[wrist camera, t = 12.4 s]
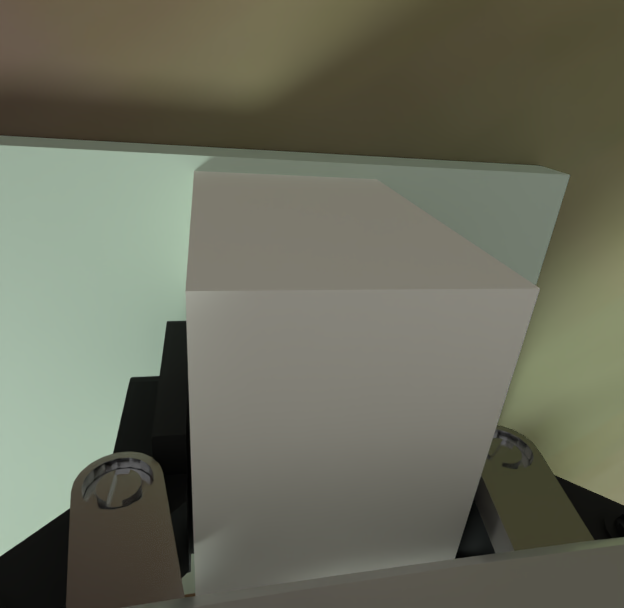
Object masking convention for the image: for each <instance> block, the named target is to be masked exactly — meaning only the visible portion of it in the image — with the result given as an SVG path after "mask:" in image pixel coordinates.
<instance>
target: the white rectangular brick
mask: <svg viewBox="0 0 624 608" xmlns="http://www.w3.org/2000/svg"><path fill="white" fill-rule="evenodd" d="M539 290H540V288H539V287H537V286H536V285H534V284H533V283H531V282H530V281H528V280H527V279H525V278H524V277H522V276H521V275H519V274H518V273H516V272H515V271H513V270H512V269H510V268H509V267H507V266H506V265H504V264H503V263H501V262H500V261H498V260H497V259H495V258H494V257H492V256H491V255H489V254H488V253H486V252H485V251H483V250H482V249H480V248H479V247H477V246H476V245H474V244H473V243H471V242H470V241H468V240H467V239H465V238H464V237H462V236H461V235H459V234H458V233H456V232H455V231H453V230H452V229H450V228H449V227H447V226H446V225H444V224H443V223H441V222H440V221H438V220H437V219H435V218H434V217H432V216H431V215H429V214H428V213H426V212H425V211H423V210H422V209H420V208H419V207H417V206H416V205H414V204H413V203H412V202H410V201H409V200H407V199H406V198H404V197H403V196H401V195H400V194H398V193H397V192H395V191H394V190H392V189H391V188H389V187H388V186H386V185H385V184H383V183H382V182H380V181H379V180H377V179H363V178H341V177H319V176H297V175H275V174H253V173H230V172H208V171H194V178H193V192H192V206H191V220H190V234H189V248H188V262H187V276H186V290H185V294H186V324H187V355H188V385H189V415H190V445H191V475H192V506H193V536H194V566H195V596H200V595H207V594H213V593H220V592H227V591H234V590H241V589H248V588H254V587H261V586H268V585H275V584H282V583H289V582H295V581H302V580H309V579H316V578H323V577H330V576H337V575H344V574H351V573H358V572H365V571H372V570H379V569H386V568H393V567H401V566H408V565H415V564H422V563H429V562H436V561H444V560H451V559H455V557H456V553H457V550H458V547H459V544H460V541H461V538H462V534H463V531H464V528H465V525H466V522H467V519H468V515H469V512H470V509H471V506H472V503H473V500H474V496H475V493H476V490H477V487H478V484H479V480H480V477H481V474H482V471H483V468H484V465H485V461H486V458H487V455H488V452H489V449H490V446H491V442H492V439H493V436H494V433H495V430H496V427H497V423H498V420H499V417H500V414H501V411H502V408H503V404H504V401H505V398H506V395H507V392H508V389H509V385H510V382H511V379H512V376H513V373H514V370H515V366H516V363H517V360H518V357H519V354H520V351H521V347H522V344H523V341H524V338H525V335H526V332H527V328H528V325H529V322H530V319H531V316H532V313H533V309H534V306H535V303H536V300H537V297H538V294H539Z"/></svg>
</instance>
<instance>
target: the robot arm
mask: <svg viewBox="0 0 624 608" xmlns="http://www.w3.org/2000/svg"><path fill="white" fill-rule="evenodd" d="M191 554H194V536H193V506H192V475H191V445H190V415H189V385H188V355H187V324H186V321H167V323H166V331H165V338H164V346H163V353H162V361H161V368H160V375H159V376H145V377H131V378H130V381H129V385H128V389H127V394H126V398H125V403H124V407H123V411H122V416H121V420H120V425H119V429H118V433H117V438H116V442H115V447H114V451H113V454H110V455H107V456H104V457H102V458H100V459H98V460H96V461H94V462H92V463H90V464H89V465H88V466H87V467H86V468H84V469H83V470H82V471H81V472H80V473H79V475H78V476H77V478H76V479H75V480H74V482H73V486H72V490H71V499H70V508H69V509H68V510H66V511H65V512H64V513H62V514H61V515H59V516H58V517H56V518H55V519H53V520H52V521H51V522H49V523H48V524H46V525H45V526H43V527H42V528H40V529H39V530H38V531H36V532H35V533H33V534H32V535H30V536H29V537H27V538H26V539H25V540H23V541H22V542H20V543H19V544H17V545H16V546H14V547H13V548H12V549H10V550H9V551H7V552H6V553H4V554H3V555H1V556H0V608H624V505H621V504H619V503H617V502H614V501H612V500H610V499H608V498H605V497H603V496H601V495H599V494H596V493H594V492H592V491H589V490H587V489H585V488H583V487H580V486H578V485H576V484H573V483H571V482H569V481H567V480H564V479H562V478H560V477H557V476H555V475H554V474H553V472H552V471H551V469H550V467H549V466H548V464H547V463H546V461H545V459H544V458H543V456H542V455H541V453H540V451H539V450H538V449H537V447H536V446H535V445H534V444H533V443H532V442H531V441H530V440H529V439H527V438H526V437H525V436H524V435H522V434H520V433H518V432H516V431H514V430H512V429H509V428H506V427H503V426H498V425H497V427H496V430H495V433H494V436H493V439H492V442H491V446H490V449H489V452H488V455H487V458H486V461H485V465H484V468H483V471H482V474H481V477H480V480H479V484H478V487H477V490H476V493H475V496H474V500H473V503H472V506H471V509H470V512H469V515H468V519H467V522H466V525H465V528H464V531H463V534H462V538H461V541H460V544H459V547H458V550H457V553H456V557H455V559H451V560H444V561H436V562H429V563H422V564H415V565H408V566H401V567H393V568H386V569H379V570H372V571H365V572H358V573H351V574H344V575H337V576H330V577H323V578H316V579H309V580H302V581H295V582H289V583H282V584H275V585H268V586H261V587H254V588H248V589H241V590H234V591H227V592H220V593H213V594H207V595H200V596H193V597H186V598H185V595H184V590H183V584H182V578H183V577H184V576H185V575H186V574H187V573H189V572H191Z"/></svg>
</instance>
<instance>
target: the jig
mask: <svg viewBox="0 0 624 608" xmlns="http://www.w3.org/2000/svg"><path fill="white" fill-rule="evenodd" d="M194 171H208V172H230V173H253V174H275V175H297V176H319V177H341V178H363V179H377V180H379V181H380V182H382V183H383V184H385V185H386V186H388V187H389V188H391V189H392V190H394V191H395V192H397V193H398V194H400V195H401V196H403V197H404V198H406V199H407V200H409V201H410V202H412V203H413V204H414V205H416V206H417V207H419V208H420V209H422V210H423V211H425V212H426V213H428V214H429V215H431V216H432V217H434V218H435V219H437V220H438V221H440V222H441V223H443V224H444V225H446V226H447V227H449V228H450V229H452V230H453V231H455V232H456V233H458V234H459V235H461V236H462V237H464V238H465V239H467V240H468V241H470V242H471V243H473V244H474V245H476V246H477V247H479V248H480V249H482V250H483V251H485V252H486V253H488V254H489V255H491V256H492V257H494V258H495V259H497V260H498V261H500V262H501V263H503V264H504V265H506V266H507V267H509V268H510V269H512V270H513V271H515V272H516V273H518V274H519V275H521V276H522V277H524V278H525V279H527V280H528V281H530V282H531V283H533V284H534V285H536V283H537V280H538V277H539V274H540V271H541V267H542V264H543V261H544V258H545V255H546V251H547V248H548V245H549V242H550V238H551V235H552V232H553V229H554V226H555V222H556V219H557V216H558V213H559V209H560V206H561V203H562V200H563V197H564V193H565V190H566V187H567V184H568V180H569V177H570V175H569V174H566V173H563V172H559V171H556V170H553V169H550V168H546V167H543V166H538V165H520V164H502V163H484V162H466V161H449V160H431V159H413V158H395V157H377V156H359V155H341V154H323V153H305V152H287V151H269V150H252V149H234V148H216V147H198V146H180V145H162V144H144V143H126V142H108V141H90V140H72V139H55V138H37V137H19V136H1V135H0V556H1V555H3V554H4V553H6V552H7V551H9V550H10V549H12V548H13V547H14V546H16V545H17V544H19V543H20V542H22V541H23V540H25V539H26V538H27V537H29V536H30V535H32V534H33V533H35V532H36V531H38V530H39V529H40V528H42V527H43V526H45V525H46V524H48V523H49V522H51V521H52V520H53V519H55V518H56V517H58V516H59V515H61V514H62V513H64V512H65V511H66V510H68V509H69V508H70V499H71V490H72V486H73V482H74V480H75V479H76V478H77V476H78V475H79V473H80V472H81V471H82V470H83V469H84V468H86V467H87V466H88V465H89V464H90V463H92V462H94V461H96V460H98V459H100V458H102V457H104V456H107V455H110V454H113V451H114V447H115V442H116V438H117V433H118V429H119V425H120V420H121V416H122V411H123V407H124V403H125V398H126V394H127V389H128V385H129V381H130V378H131V377H145V376H159V375H160V368H161V361H162V353H163V346H164V338H165V331H166V323H167V321H186V294H185V290H186V276H187V262H188V248H189V234H190V220H191V206H192V192H193V178H194ZM182 584H183V590H184V595H185V594H192V593H195V566H194V554H191V572H189V573H187V574H186V575H185V576H184V577H183V578H182Z"/></svg>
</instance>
